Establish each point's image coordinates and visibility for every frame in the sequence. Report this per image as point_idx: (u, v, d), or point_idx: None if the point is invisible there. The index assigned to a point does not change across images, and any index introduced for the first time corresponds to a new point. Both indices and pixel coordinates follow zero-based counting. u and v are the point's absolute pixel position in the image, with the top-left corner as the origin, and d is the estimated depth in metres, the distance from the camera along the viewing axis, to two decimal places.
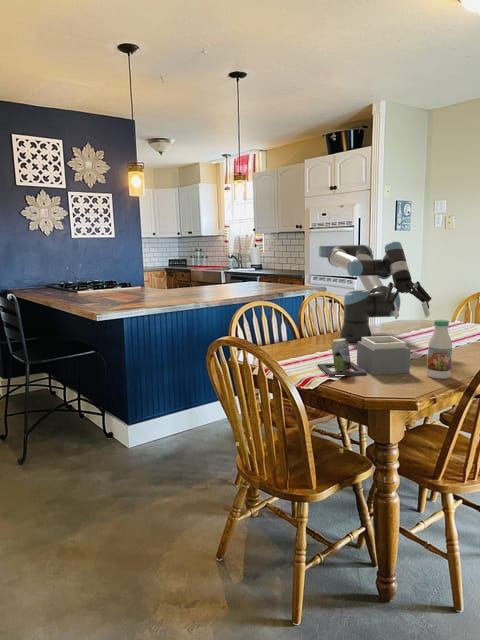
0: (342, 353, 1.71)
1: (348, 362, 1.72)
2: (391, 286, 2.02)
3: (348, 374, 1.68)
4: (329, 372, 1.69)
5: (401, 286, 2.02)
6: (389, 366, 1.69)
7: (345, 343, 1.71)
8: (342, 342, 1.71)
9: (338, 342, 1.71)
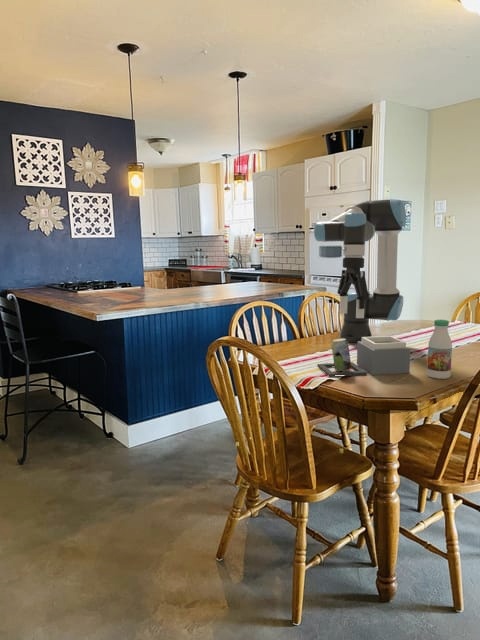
0: (342, 353, 1.71)
1: (348, 362, 1.72)
2: (342, 275, 1.76)
3: (348, 374, 1.68)
4: (329, 372, 1.69)
5: (345, 277, 1.72)
6: (389, 366, 1.69)
7: (345, 343, 1.71)
8: (342, 342, 1.71)
9: (338, 342, 1.71)
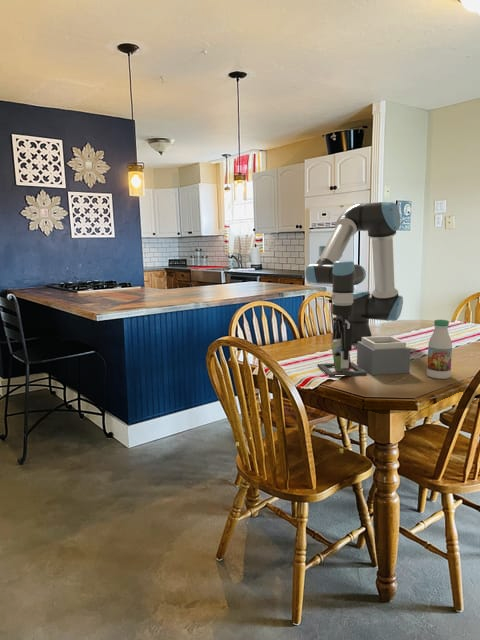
0: None
1: None
2: (333, 323, 1.77)
3: (348, 374, 1.68)
4: (329, 372, 1.69)
5: (335, 324, 1.73)
6: (389, 366, 1.69)
7: None
8: None
9: (338, 342, 1.71)
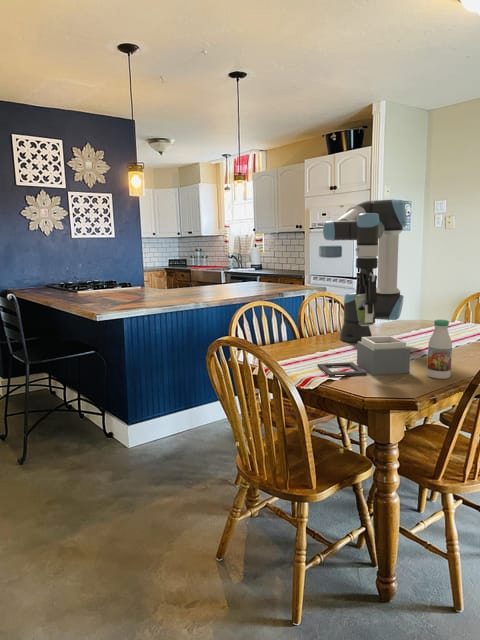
0: None
1: None
2: (357, 278, 1.76)
3: (348, 374, 1.68)
4: (329, 372, 1.69)
5: (359, 278, 1.72)
6: (389, 366, 1.69)
7: None
8: None
9: (362, 296, 1.69)
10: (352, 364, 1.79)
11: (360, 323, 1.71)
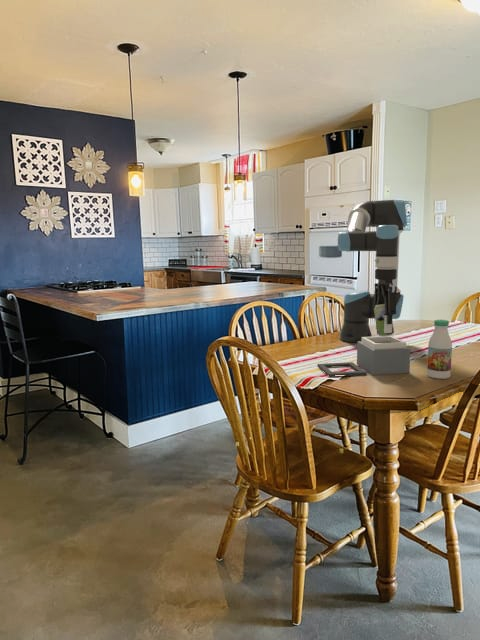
0: None
1: None
2: (375, 289, 1.77)
3: (348, 374, 1.68)
4: (329, 372, 1.69)
5: (378, 289, 1.73)
6: (389, 366, 1.69)
7: None
8: None
9: (381, 307, 1.71)
10: (352, 364, 1.79)
11: (379, 333, 1.73)
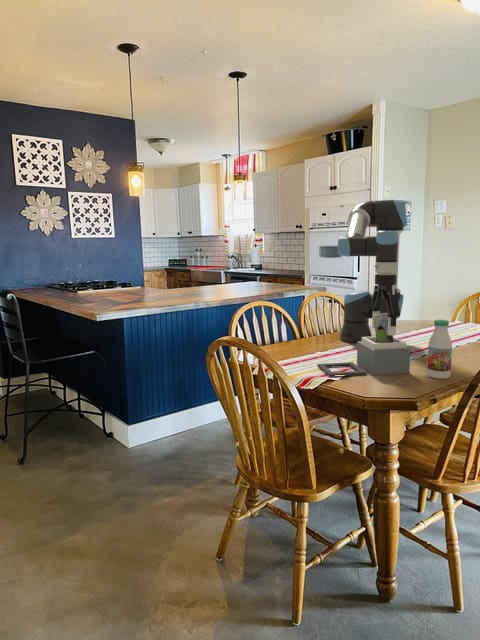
0: (385, 327, 1.71)
1: (391, 336, 1.72)
2: (374, 291, 1.78)
3: (348, 374, 1.68)
4: (329, 372, 1.69)
5: (377, 293, 1.74)
6: (389, 366, 1.69)
7: None
8: (385, 316, 1.72)
9: (381, 316, 1.72)
10: (352, 364, 1.79)
11: (379, 342, 1.74)
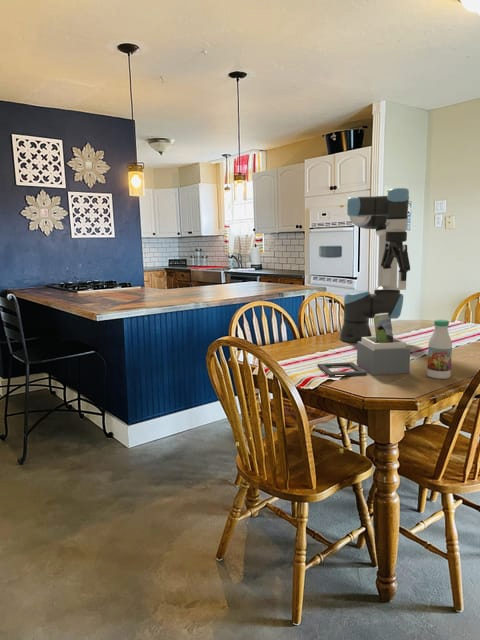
0: (385, 327, 1.71)
1: (391, 336, 1.72)
2: (385, 249, 1.84)
3: (348, 374, 1.68)
4: (329, 372, 1.69)
5: (388, 250, 1.80)
6: (389, 366, 1.69)
7: (388, 317, 1.72)
8: (385, 316, 1.71)
9: (381, 316, 1.72)
10: (352, 364, 1.79)
11: (379, 342, 1.74)
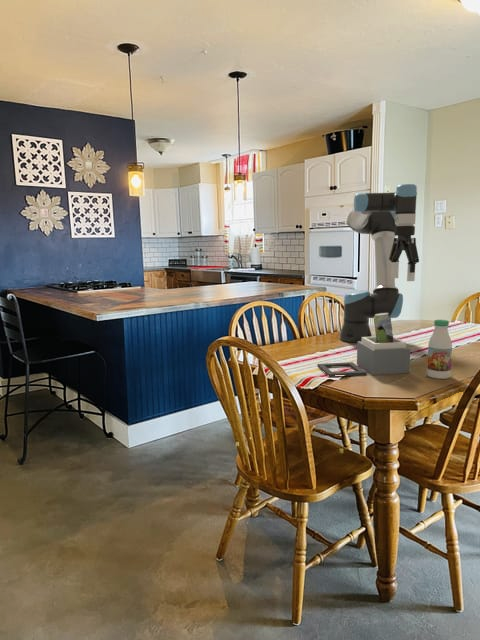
0: (385, 327, 1.71)
1: (391, 336, 1.72)
2: (393, 243, 1.91)
3: (348, 374, 1.68)
4: (329, 372, 1.69)
5: (397, 244, 1.87)
6: (389, 366, 1.69)
7: (388, 317, 1.72)
8: (385, 316, 1.71)
9: (381, 316, 1.72)
10: (352, 364, 1.79)
11: (379, 342, 1.74)
